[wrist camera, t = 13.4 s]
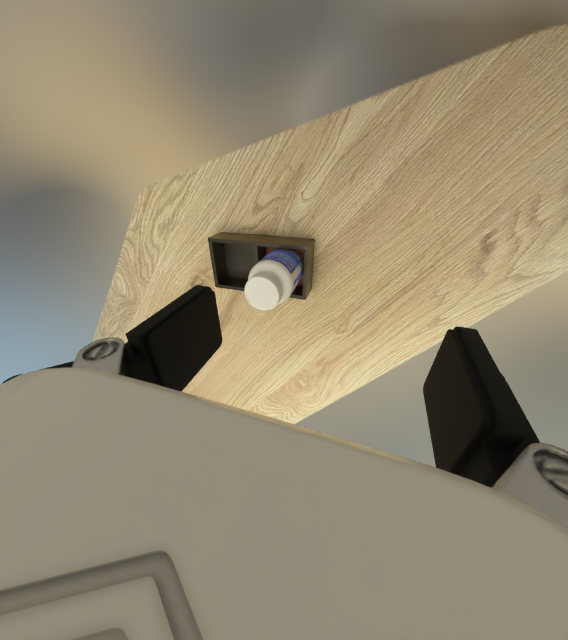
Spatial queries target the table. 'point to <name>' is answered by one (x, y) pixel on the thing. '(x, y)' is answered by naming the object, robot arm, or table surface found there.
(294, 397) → the table surface
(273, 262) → the pill bottle
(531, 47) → the table surface
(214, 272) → the brown wooden tray
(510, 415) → the robot arm
